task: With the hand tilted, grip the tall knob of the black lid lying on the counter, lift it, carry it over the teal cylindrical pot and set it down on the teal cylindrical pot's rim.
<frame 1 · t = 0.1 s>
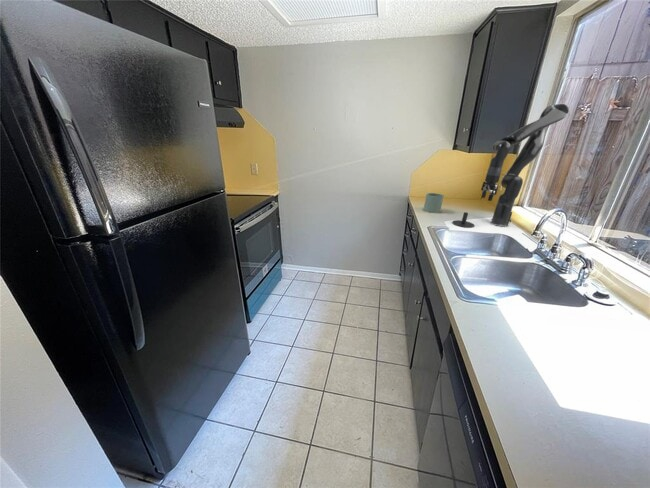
hand: (486, 199, 171), 17 cm above the worktop, tool pointing down, fingers open, 8 cm apart
teal cylindrical pot: (431, 210, 204), on the worktop
lid: (463, 224, 173), point 1 cm above the worktop
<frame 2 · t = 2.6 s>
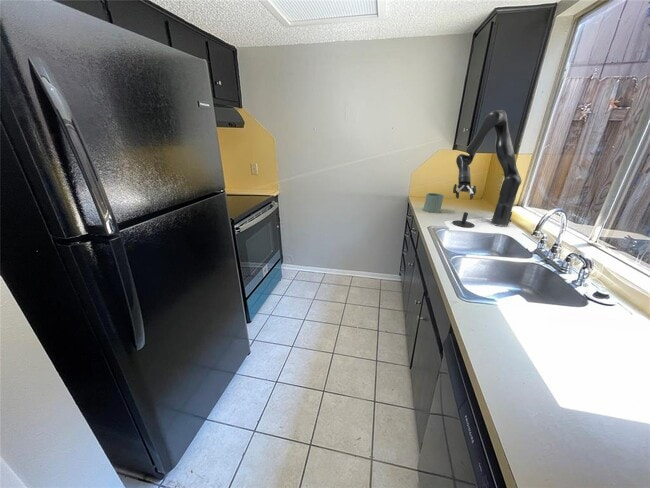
hand: (464, 198, 176), 16 cm above the worktop, tool tilted 45°, fingers open, 8 cm apart
nothing on the worktop moved.
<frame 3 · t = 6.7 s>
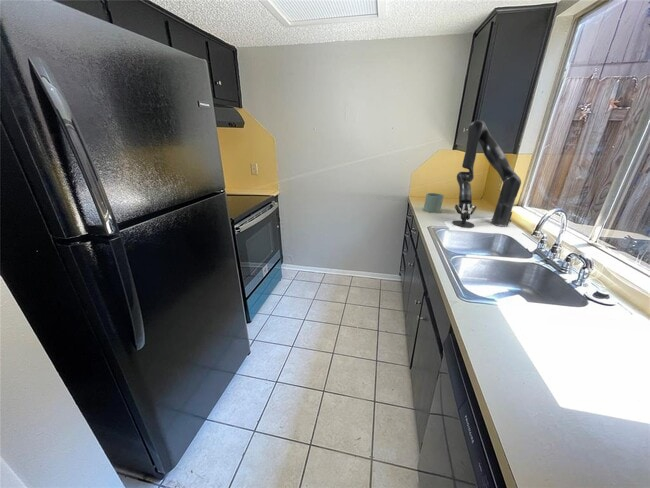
hand: (465, 219, 170), 5 cm above the worktop, tool tilted 45°, fingers closed on lid, 2 cm apart
lid: (463, 224, 173), point 1 cm above the worktop, touching gripper
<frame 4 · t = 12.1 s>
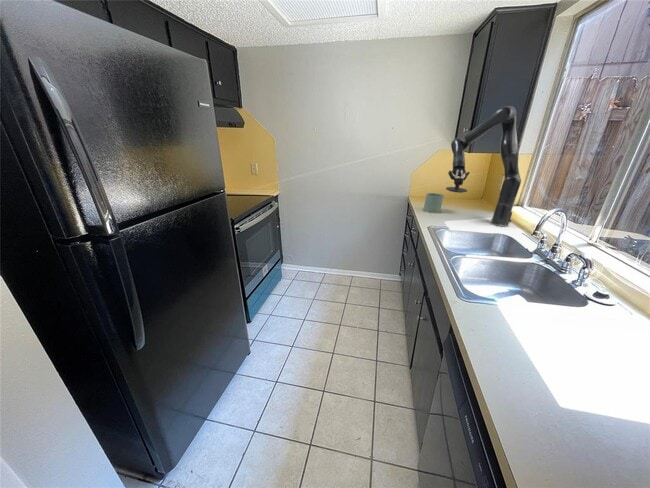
hand: (458, 184, 173), 25 cm above the worktop, tool tilted 45°, fingers closed on lid, 2 cm apart
lid: (456, 190, 177), point 21 cm above the worktop, touching gripper
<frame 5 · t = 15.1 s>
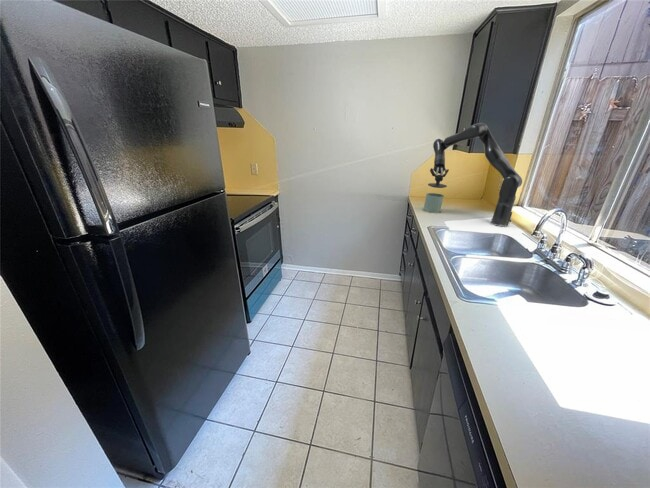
hand: (438, 180, 192), 24 cm above the worktop, tool tilted 45°, fingers closed on lid, 2 cm apart
lid: (437, 185, 196), point 20 cm above the worktop, touching gripper
when the fingers open (17 cm above the worktop, at t = 17.3 s): lid stays where it is, resting on teal cylindrical pot.
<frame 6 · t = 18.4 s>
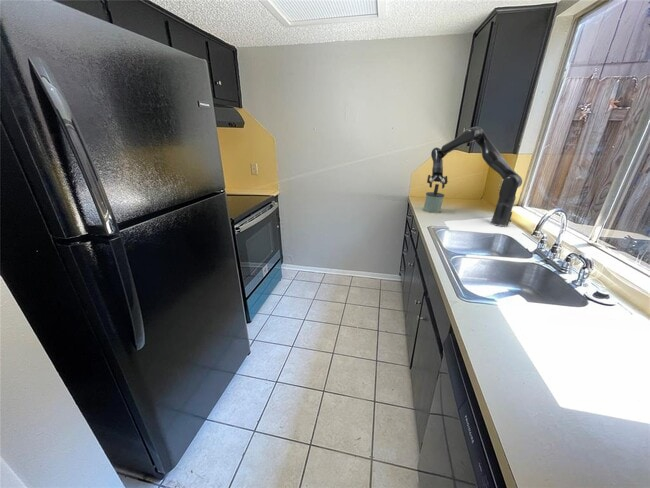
hand: (436, 187, 195), 18 cm above the worktop, tool tilted 45°, fingers open, 8 cm apart
lid: (435, 194, 199), point 12 cm above the worktop, touching teal cylindrical pot
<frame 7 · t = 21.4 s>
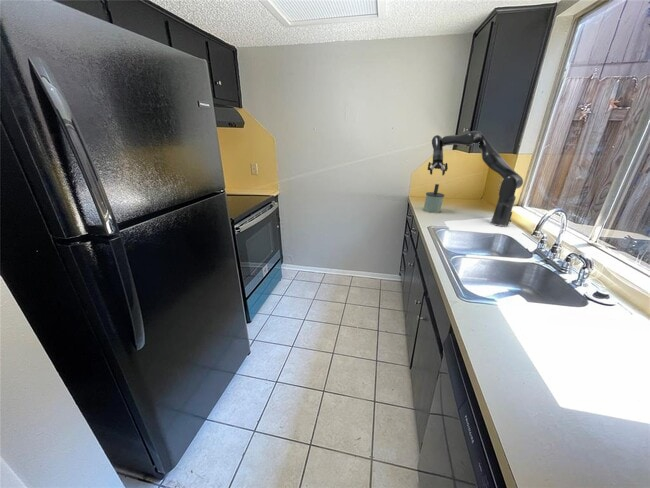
hand: (437, 174, 199), 27 cm above the worktop, tool tilted 45°, fingers open, 8 cm apart
nothing on the worktop moved.
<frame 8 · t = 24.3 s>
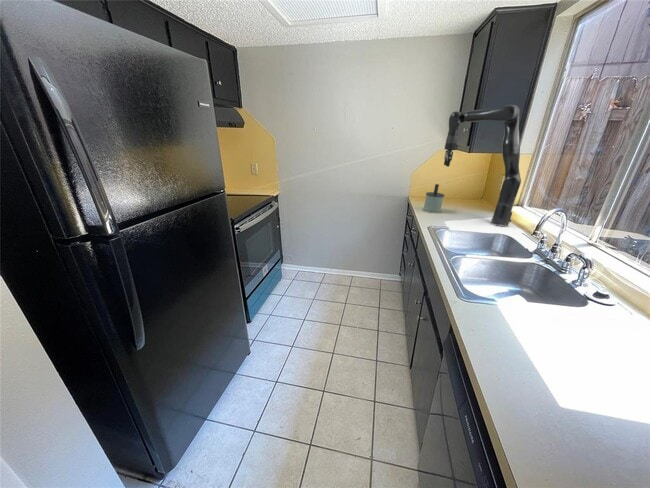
hand: (446, 165, 193), 34 cm above the worktop, tool pointing down, fingers open, 8 cm apart
nothing on the worktop moved.
at the end: lid 0.1 cm off-centre on the teal cylindrical pot, point 12.5 cm above the teal cylindrical pot's base; lid tilted 0°; the gripper is holding nothing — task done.
